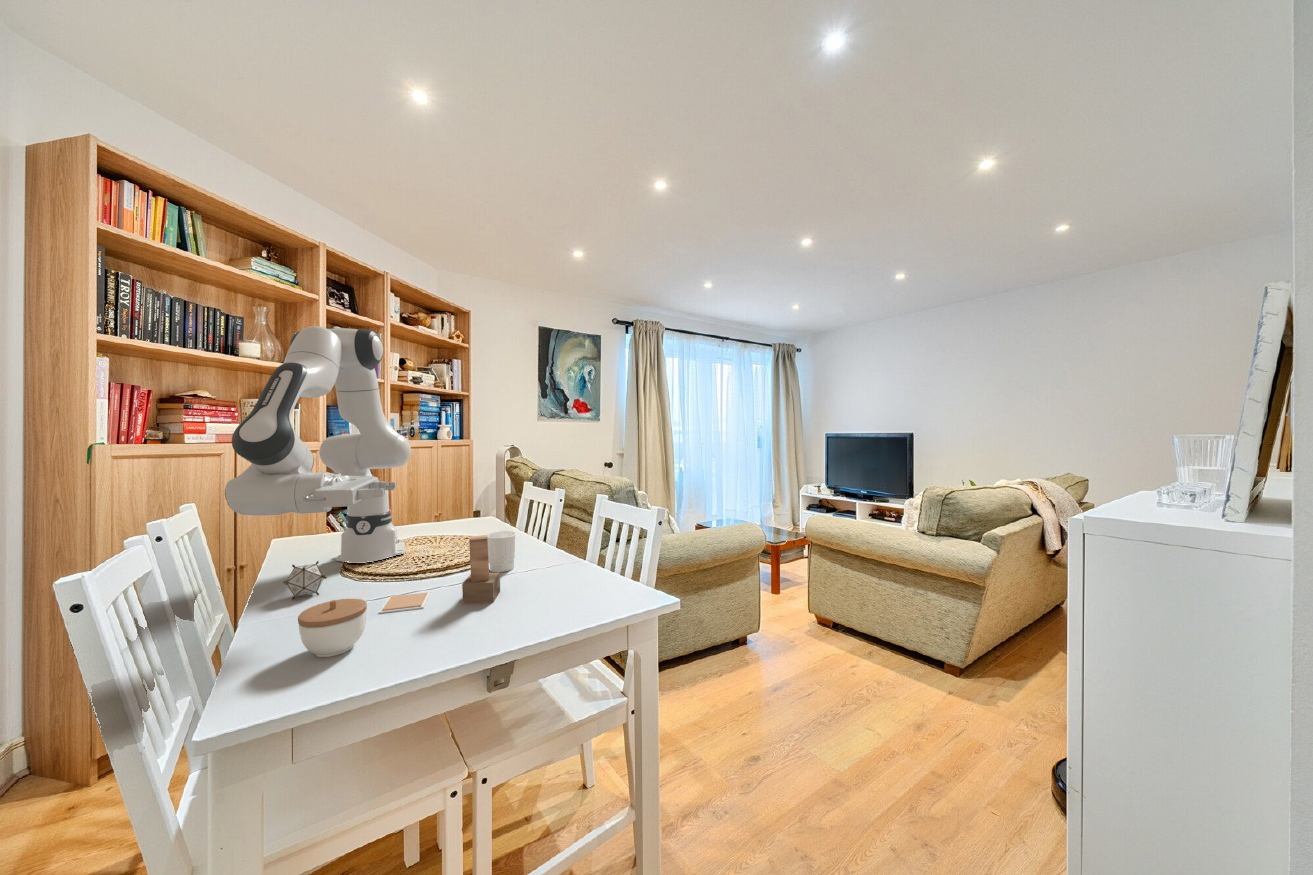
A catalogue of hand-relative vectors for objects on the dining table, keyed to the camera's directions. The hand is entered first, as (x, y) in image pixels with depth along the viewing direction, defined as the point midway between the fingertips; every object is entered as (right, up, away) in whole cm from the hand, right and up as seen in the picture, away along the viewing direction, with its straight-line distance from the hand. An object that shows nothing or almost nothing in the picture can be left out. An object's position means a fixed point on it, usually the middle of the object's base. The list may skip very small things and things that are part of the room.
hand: (390, 488), depth 106 cm
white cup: (+16, -26, +28) cm, 42 cm away
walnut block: (+19, -27, +7) cm, 34 cm away
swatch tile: (+2, -28, +4) cm, 28 cm away
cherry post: (+18, -22, +6) cm, 30 cm away
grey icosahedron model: (-26, -28, +9) cm, 39 cm away
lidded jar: (0, -29, -18) cm, 34 cm away
